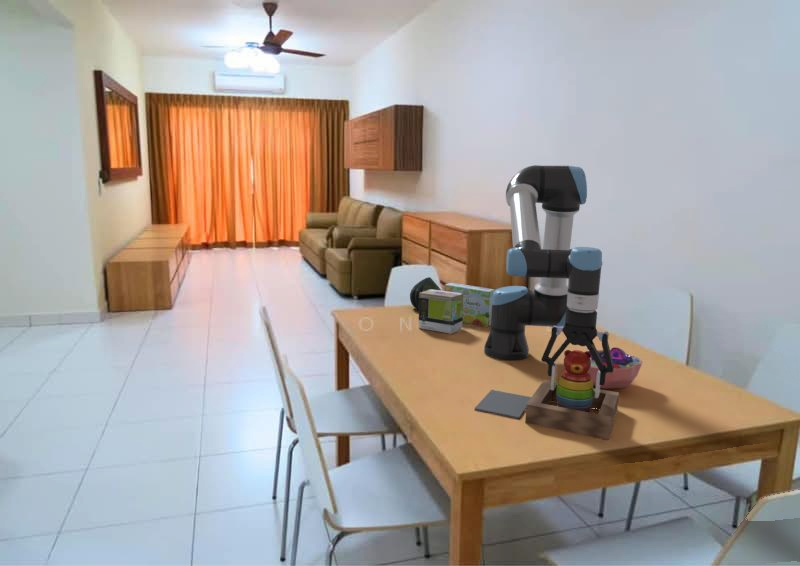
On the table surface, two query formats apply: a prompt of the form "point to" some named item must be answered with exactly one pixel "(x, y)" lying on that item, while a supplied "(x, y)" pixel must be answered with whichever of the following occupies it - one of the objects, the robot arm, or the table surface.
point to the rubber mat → (503, 404)
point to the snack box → (474, 303)
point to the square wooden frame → (572, 413)
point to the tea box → (441, 311)
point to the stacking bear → (575, 382)
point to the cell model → (617, 369)
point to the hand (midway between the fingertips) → (574, 392)
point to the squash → (421, 290)
